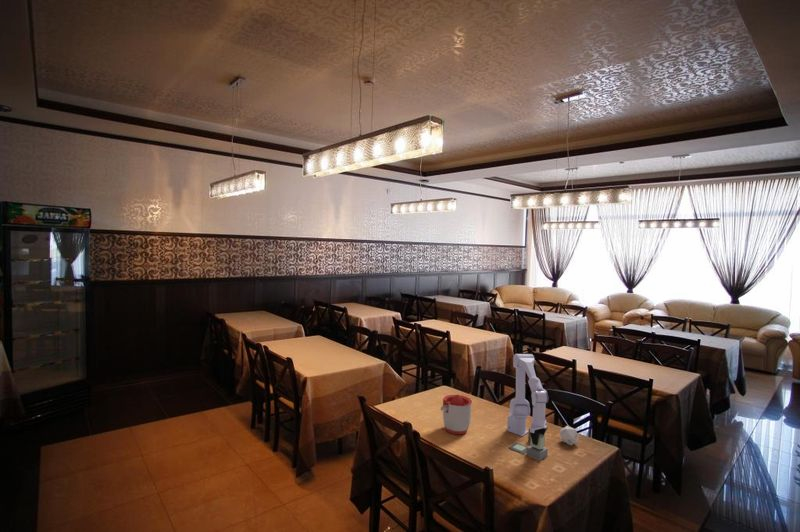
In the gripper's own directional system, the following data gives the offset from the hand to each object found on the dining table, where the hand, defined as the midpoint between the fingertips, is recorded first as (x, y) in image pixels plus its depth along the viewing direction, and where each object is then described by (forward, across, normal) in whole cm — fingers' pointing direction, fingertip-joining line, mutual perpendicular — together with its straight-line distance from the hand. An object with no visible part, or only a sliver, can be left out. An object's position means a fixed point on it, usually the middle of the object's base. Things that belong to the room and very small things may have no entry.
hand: (537, 442), depth 191 cm
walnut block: (+6, +13, +7) cm, 16 cm away
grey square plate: (+6, 0, +9) cm, 11 cm away
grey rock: (+7, +25, -6) cm, 27 cm away
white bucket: (+7, -8, +43) cm, 44 cm away
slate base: (+7, 0, 0) cm, 7 cm away
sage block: (+2, 0, 0) cm, 2 cm away
